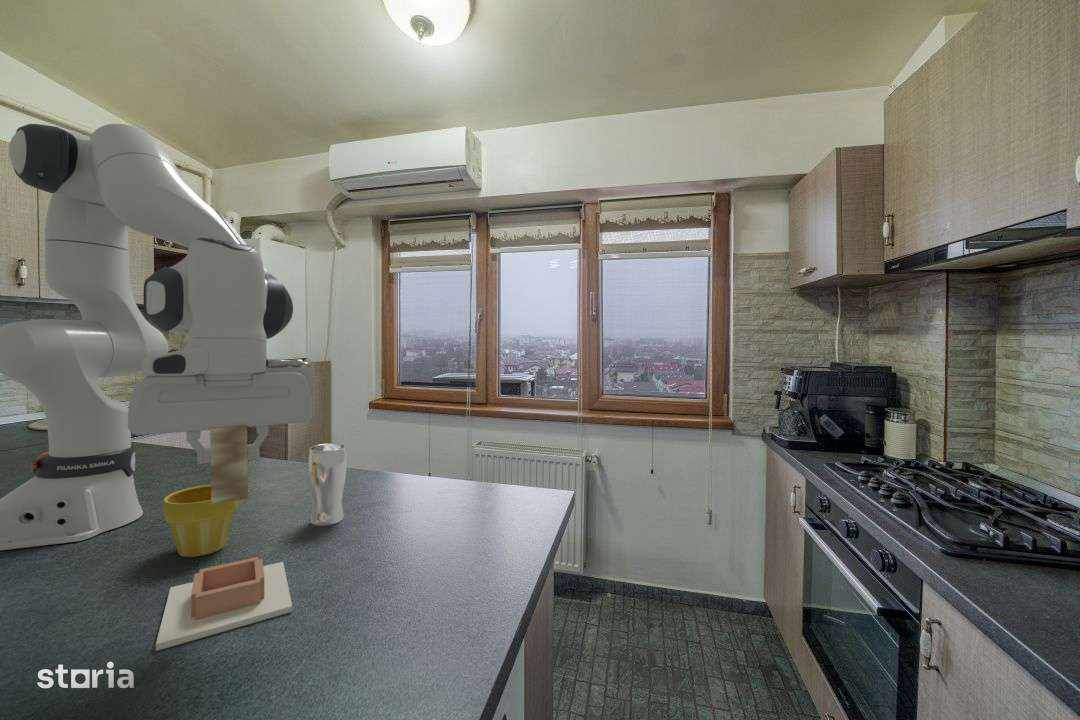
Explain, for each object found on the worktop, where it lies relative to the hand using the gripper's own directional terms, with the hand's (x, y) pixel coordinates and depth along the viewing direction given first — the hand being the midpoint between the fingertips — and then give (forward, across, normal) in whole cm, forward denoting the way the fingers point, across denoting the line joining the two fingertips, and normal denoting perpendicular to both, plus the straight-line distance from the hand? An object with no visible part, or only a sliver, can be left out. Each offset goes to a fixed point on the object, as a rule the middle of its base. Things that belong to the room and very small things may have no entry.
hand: (229, 460), depth 60 cm
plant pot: (+20, +4, -21) cm, 30 cm away
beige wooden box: (+5, 0, 0) cm, 5 cm away
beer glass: (+20, -16, -23) cm, 35 cm away
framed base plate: (+20, 0, 0) cm, 20 cm away
